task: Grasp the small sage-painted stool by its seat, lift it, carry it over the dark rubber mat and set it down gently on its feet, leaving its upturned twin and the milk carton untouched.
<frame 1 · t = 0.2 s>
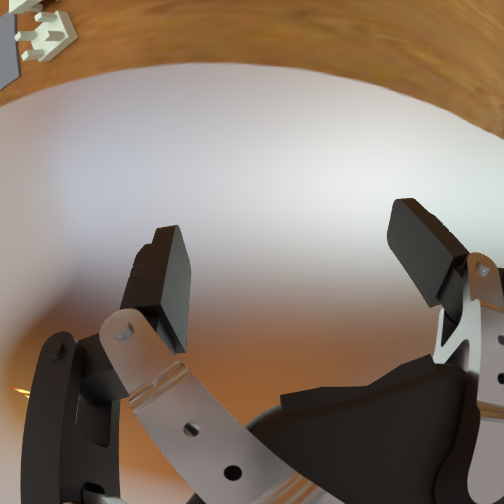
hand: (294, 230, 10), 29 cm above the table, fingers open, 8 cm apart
upturned twin: (58, 36, 20), on the table
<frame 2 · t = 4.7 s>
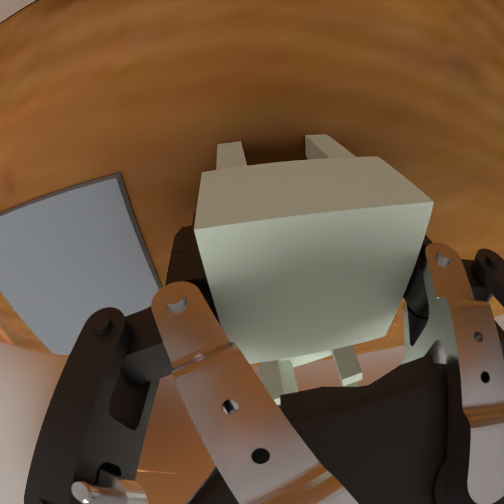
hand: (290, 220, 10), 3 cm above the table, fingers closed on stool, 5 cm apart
upturned twin: (295, 306, 18), on the table
stool: (276, 186, 12), on the table, touching gripper
mat: (69, 293, 15), on the table
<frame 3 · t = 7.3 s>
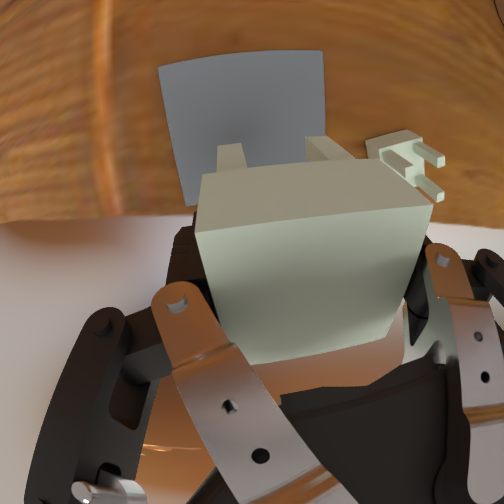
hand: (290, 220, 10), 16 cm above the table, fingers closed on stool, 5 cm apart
upturned twin: (389, 156, 26), on the table
stool: (276, 188, 13), point 13 cm above the table, touching gripper
mat: (248, 126, 23), on the table
when the fingers open (5 cm above the table, at t = 10.2 s): stool drops 1 cm, resting on mat.
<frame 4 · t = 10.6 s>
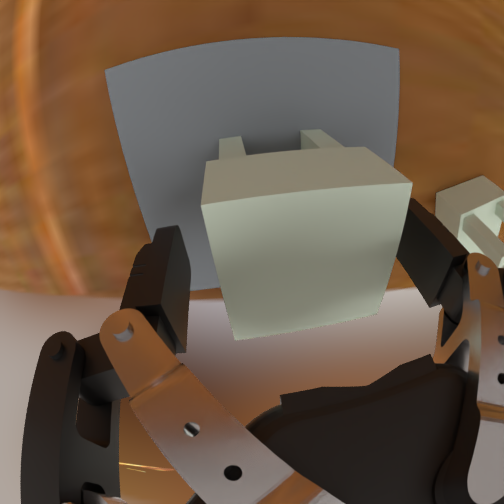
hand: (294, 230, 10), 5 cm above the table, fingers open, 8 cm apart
upturned twin: (458, 212, 17), on the table
stool: (274, 178, 13), point 1 cm above the table, touching mat
mat: (270, 173, 14), on the table
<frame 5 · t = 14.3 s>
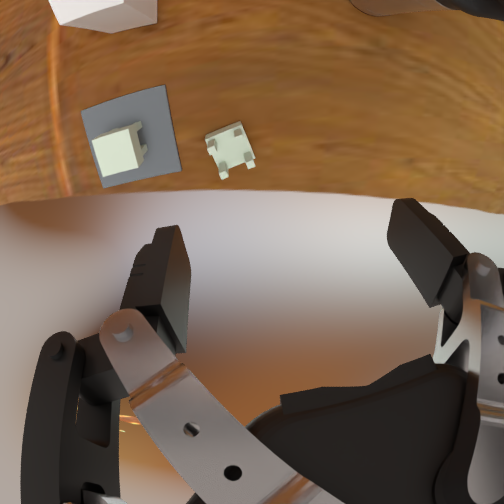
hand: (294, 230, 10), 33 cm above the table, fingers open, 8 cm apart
upturned twin: (229, 143, 39), on the table
milk carton: (134, 8, 23), on the table
stool: (129, 139, 36), point 1 cm above the table, touching mat
mat: (130, 138, 36), on the table
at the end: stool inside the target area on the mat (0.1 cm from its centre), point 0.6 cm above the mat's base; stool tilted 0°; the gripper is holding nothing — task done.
